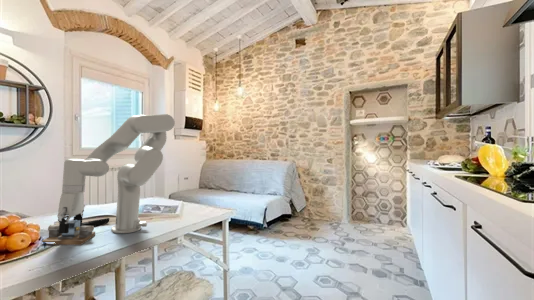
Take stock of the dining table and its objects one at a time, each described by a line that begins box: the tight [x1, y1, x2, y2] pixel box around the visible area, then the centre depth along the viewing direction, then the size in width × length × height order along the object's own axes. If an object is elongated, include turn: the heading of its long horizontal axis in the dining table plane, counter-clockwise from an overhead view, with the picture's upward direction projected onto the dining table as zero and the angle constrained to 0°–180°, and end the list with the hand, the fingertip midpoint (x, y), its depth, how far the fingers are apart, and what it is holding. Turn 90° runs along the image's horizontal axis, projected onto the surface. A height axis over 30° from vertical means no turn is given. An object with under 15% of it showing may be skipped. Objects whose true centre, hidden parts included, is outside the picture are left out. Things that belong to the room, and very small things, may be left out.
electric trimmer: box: [81, 217, 110, 227], centre depth 124 cm, size 4×16×3 cm, turn 147°
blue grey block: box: [62, 219, 80, 238], centre depth 106 cm, size 6×4×6 cm
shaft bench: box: [41, 224, 96, 246], centre depth 106 cm, size 16×11×6 cm
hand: (70, 229), depth 106 cm, fingers open, 9 cm apart
